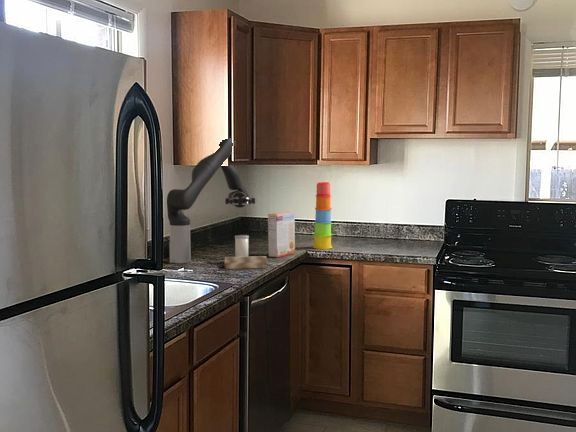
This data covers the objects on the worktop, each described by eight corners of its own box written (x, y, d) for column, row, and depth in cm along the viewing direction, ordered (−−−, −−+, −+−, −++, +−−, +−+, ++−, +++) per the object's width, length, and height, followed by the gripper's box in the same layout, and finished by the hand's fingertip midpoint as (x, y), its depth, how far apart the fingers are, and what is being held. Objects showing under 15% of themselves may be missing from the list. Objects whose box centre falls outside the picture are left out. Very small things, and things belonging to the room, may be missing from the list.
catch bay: (224, 268, 267) (224, 257, 267) (224, 264, 278) (224, 253, 278) (266, 267, 269) (266, 256, 269) (264, 263, 280) (264, 252, 280)
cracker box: (286, 253, 310) (286, 211, 308) (295, 254, 306) (295, 212, 304) (267, 256, 299) (267, 213, 297) (277, 257, 296) (277, 214, 294)
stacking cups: (335, 247, 329) (336, 182, 325) (326, 249, 320) (326, 182, 317) (319, 245, 334) (319, 181, 331) (309, 248, 326) (309, 182, 323)
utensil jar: (235, 263, 281) (234, 236, 280) (234, 260, 288) (234, 235, 286) (249, 262, 282) (249, 236, 281) (248, 260, 288) (248, 234, 287)
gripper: (225, 192, 308) (225, 194, 292) (253, 191, 310) (255, 193, 294) (225, 207, 309) (225, 210, 293) (253, 206, 310) (255, 209, 294)
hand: (240, 202), depth 293 cm, fingers open, 8 cm apart
